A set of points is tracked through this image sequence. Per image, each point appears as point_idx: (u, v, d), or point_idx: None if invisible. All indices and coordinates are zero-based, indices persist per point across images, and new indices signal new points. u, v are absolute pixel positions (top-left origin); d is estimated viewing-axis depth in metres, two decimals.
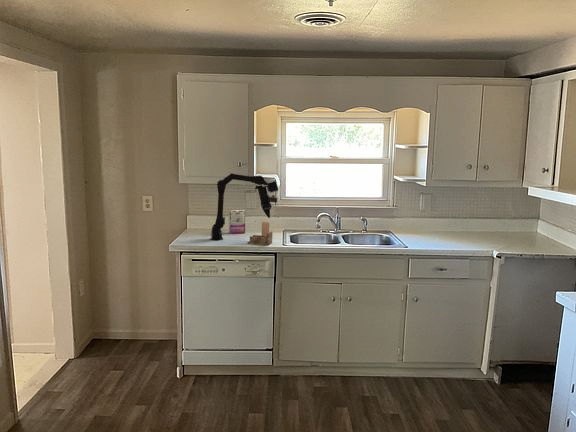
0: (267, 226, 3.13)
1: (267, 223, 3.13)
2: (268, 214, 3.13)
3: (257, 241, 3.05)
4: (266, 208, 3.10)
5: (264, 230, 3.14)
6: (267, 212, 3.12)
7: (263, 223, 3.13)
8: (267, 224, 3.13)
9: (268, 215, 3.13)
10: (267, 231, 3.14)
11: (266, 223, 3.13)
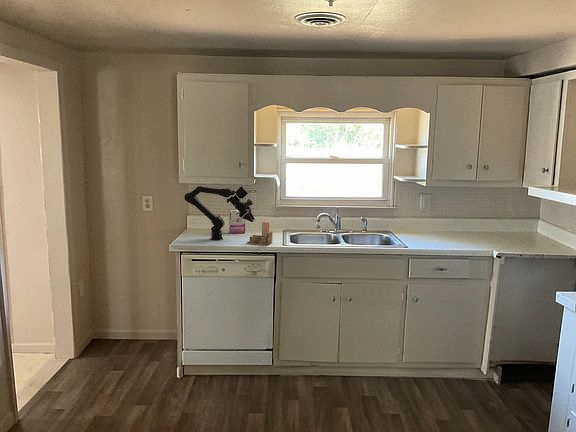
0: (267, 226, 3.13)
1: (267, 223, 3.13)
2: (250, 219, 3.09)
3: (257, 241, 3.05)
4: (244, 215, 3.06)
5: (264, 230, 3.14)
6: (248, 218, 3.08)
7: (263, 223, 3.13)
8: (267, 224, 3.13)
9: (250, 220, 3.09)
10: (267, 231, 3.14)
11: (266, 223, 3.13)
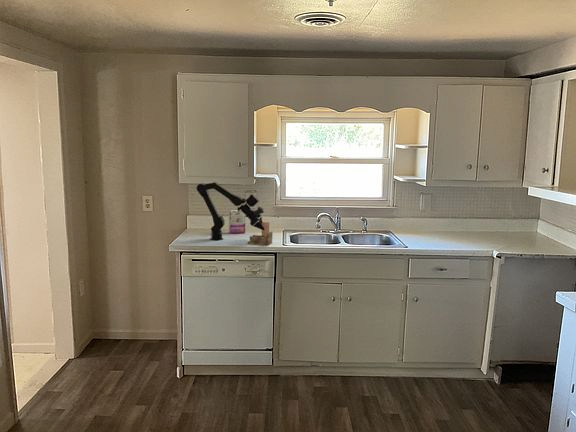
0: (267, 226, 3.13)
1: (267, 223, 3.13)
2: (261, 227, 3.09)
3: (257, 241, 3.05)
4: (255, 223, 3.06)
5: (264, 230, 3.14)
6: (259, 226, 3.09)
7: (263, 223, 3.13)
8: (267, 224, 3.13)
9: (261, 228, 3.09)
10: (267, 231, 3.14)
11: (266, 223, 3.13)
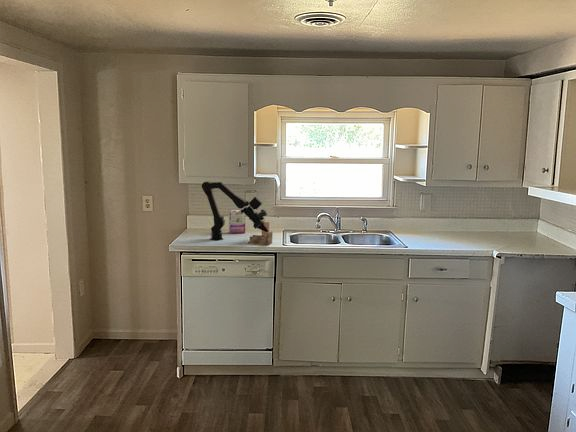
0: (267, 226, 3.13)
1: (267, 223, 3.13)
2: (264, 229, 3.12)
3: (257, 241, 3.05)
4: (259, 225, 3.10)
5: None
6: (262, 227, 3.12)
7: None
8: (267, 224, 3.13)
9: (265, 230, 3.13)
10: None
11: (266, 223, 3.13)
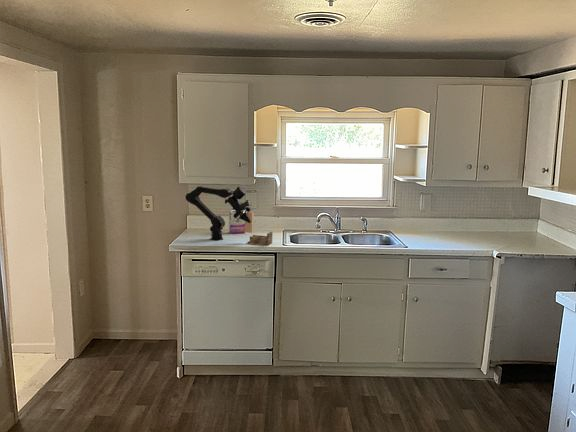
0: (250, 217, 3.07)
1: (250, 214, 3.07)
2: (247, 219, 3.06)
3: (257, 241, 3.05)
4: (240, 215, 3.05)
5: None
6: (245, 218, 3.06)
7: (246, 213, 3.07)
8: (250, 215, 3.07)
9: (247, 220, 3.07)
10: None
11: (249, 214, 3.07)
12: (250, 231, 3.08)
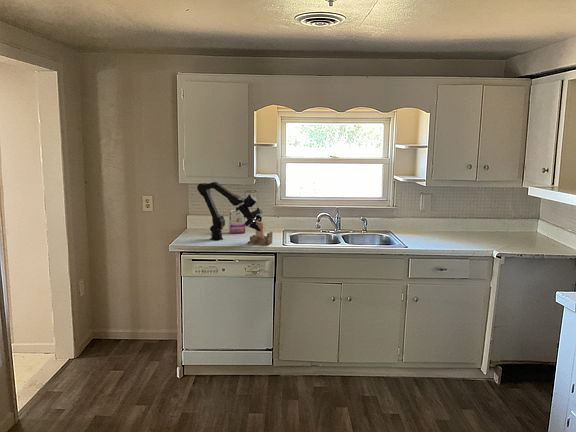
0: (261, 226, 3.05)
1: (261, 223, 3.05)
2: (257, 228, 3.03)
3: (257, 241, 3.05)
4: (250, 224, 3.01)
5: (257, 231, 3.06)
6: (255, 227, 3.03)
7: (257, 223, 3.06)
8: (261, 224, 3.05)
9: (257, 229, 3.03)
10: (261, 232, 3.06)
11: (260, 223, 3.05)
12: None
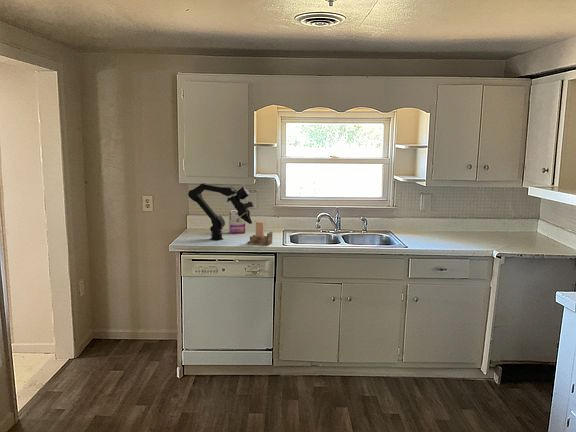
0: (261, 226, 3.05)
1: (261, 223, 3.05)
2: (248, 220, 3.04)
3: (257, 241, 3.05)
4: (243, 214, 3.02)
5: (257, 231, 3.06)
6: (246, 218, 3.04)
7: (257, 223, 3.06)
8: (261, 224, 3.05)
9: (248, 221, 3.04)
10: (261, 232, 3.06)
11: (260, 223, 3.05)
12: None
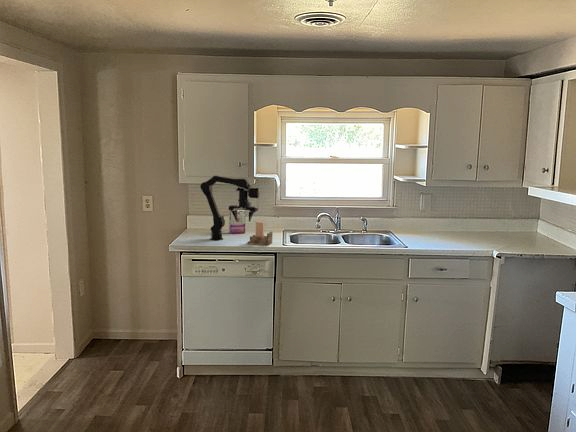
0: (261, 226, 3.05)
1: (261, 223, 3.05)
2: (250, 218, 3.11)
3: (257, 241, 3.05)
4: (254, 211, 3.09)
5: (257, 231, 3.06)
6: (251, 215, 3.11)
7: (257, 223, 3.06)
8: (261, 224, 3.05)
9: (250, 219, 3.11)
10: (261, 232, 3.06)
11: (260, 223, 3.05)
12: None
